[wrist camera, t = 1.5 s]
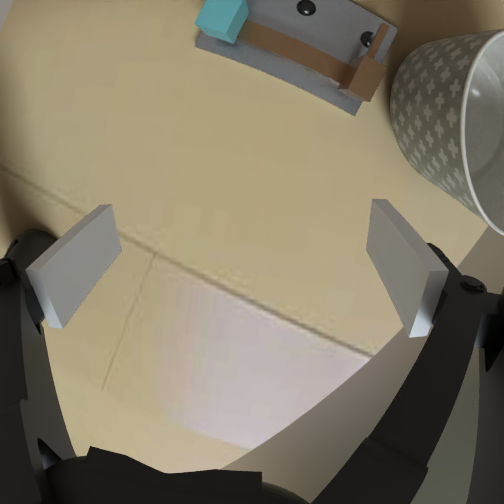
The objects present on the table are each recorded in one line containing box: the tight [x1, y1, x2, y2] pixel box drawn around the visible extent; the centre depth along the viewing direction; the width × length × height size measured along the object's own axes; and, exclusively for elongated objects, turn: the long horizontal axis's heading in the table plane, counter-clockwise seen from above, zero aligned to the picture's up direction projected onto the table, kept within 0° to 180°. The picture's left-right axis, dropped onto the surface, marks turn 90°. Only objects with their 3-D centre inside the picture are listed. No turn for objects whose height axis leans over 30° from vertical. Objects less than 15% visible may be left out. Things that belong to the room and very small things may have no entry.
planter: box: [390, 29, 504, 236], centre depth 24 cm, size 19×19×18 cm
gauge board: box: [195, 0, 398, 116], centre depth 26 cm, size 20×13×9 cm, turn 66°
